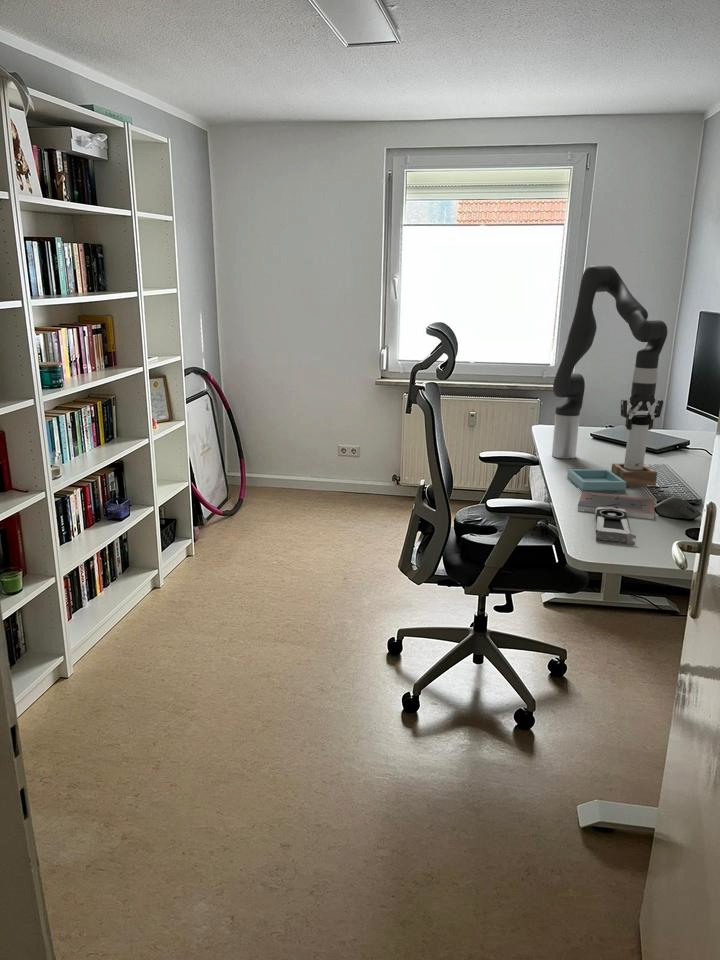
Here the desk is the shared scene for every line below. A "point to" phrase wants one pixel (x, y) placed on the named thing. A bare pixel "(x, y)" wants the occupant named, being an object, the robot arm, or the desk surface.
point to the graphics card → (612, 525)
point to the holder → (635, 475)
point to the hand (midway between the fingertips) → (638, 429)
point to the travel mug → (637, 443)
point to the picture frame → (617, 504)
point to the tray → (596, 481)
